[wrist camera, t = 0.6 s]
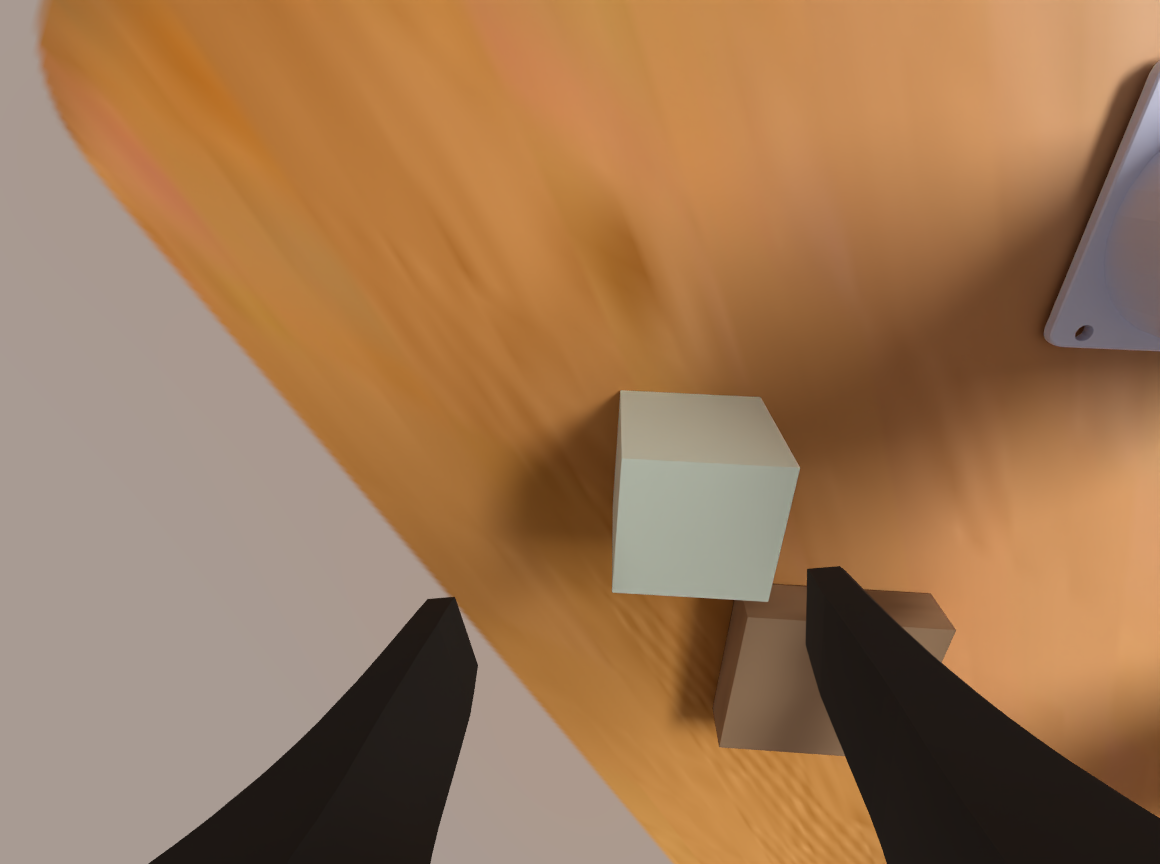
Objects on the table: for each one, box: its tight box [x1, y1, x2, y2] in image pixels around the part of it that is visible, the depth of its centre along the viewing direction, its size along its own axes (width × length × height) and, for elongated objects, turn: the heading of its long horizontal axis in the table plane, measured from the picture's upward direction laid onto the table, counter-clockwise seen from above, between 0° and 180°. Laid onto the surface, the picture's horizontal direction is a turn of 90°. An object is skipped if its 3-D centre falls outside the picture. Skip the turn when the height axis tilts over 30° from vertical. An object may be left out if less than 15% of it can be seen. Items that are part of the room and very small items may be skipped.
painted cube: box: [612, 390, 800, 602], centre depth 20 cm, size 5×5×5 cm
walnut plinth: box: [713, 584, 956, 756], centre depth 25 cm, size 8×8×2 cm
